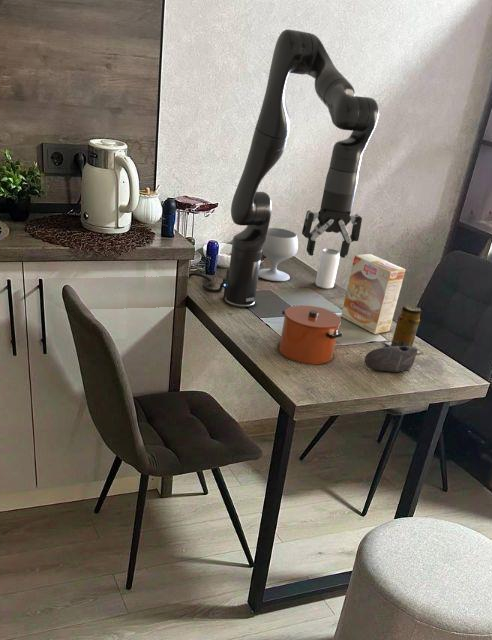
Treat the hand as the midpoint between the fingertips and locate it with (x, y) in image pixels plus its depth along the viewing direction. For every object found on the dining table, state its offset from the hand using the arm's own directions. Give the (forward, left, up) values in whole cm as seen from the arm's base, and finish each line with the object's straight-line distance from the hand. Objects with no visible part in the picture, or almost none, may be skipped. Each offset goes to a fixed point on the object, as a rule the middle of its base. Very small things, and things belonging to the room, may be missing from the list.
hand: (326, 255), depth 183 cm
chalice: (-54, +39, -28) cm, 72 cm away
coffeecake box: (-9, +36, -28) cm, 47 cm away
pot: (-2, +2, -28) cm, 28 cm away
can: (-40, +50, -28) cm, 70 cm away
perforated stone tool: (+17, +15, -28) cm, 36 cm away
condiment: (+9, +32, -28) cm, 43 cm away
